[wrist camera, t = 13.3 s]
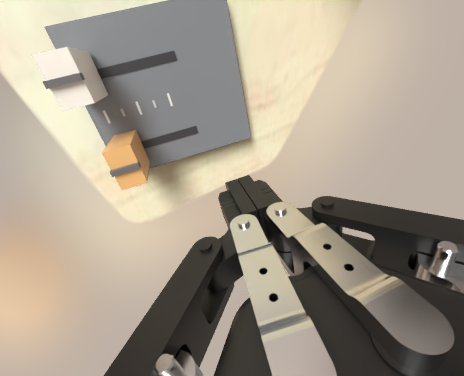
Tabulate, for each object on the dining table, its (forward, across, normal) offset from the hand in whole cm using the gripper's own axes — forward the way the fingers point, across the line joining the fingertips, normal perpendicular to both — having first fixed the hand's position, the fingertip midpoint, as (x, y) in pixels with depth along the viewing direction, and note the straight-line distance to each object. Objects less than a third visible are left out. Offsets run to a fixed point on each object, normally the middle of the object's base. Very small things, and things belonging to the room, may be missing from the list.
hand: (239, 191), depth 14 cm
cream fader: (+16, +9, -8) cm, 20 cm away
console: (+19, +2, -5) cm, 19 cm away
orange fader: (+16, +8, 0) cm, 18 cm away
